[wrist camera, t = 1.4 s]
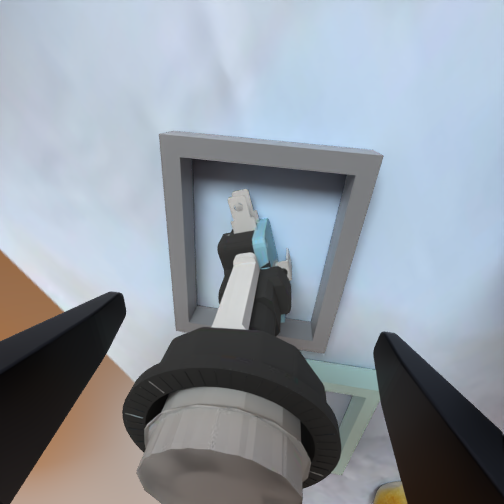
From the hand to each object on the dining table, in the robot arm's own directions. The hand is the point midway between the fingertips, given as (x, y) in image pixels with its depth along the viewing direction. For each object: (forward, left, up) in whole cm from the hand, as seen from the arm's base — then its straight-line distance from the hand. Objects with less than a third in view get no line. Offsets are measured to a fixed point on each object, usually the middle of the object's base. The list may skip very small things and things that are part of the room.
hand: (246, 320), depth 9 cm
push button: (0, 0, -6) cm, 6 cm away
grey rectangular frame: (0, 0, -6) cm, 6 cm away
